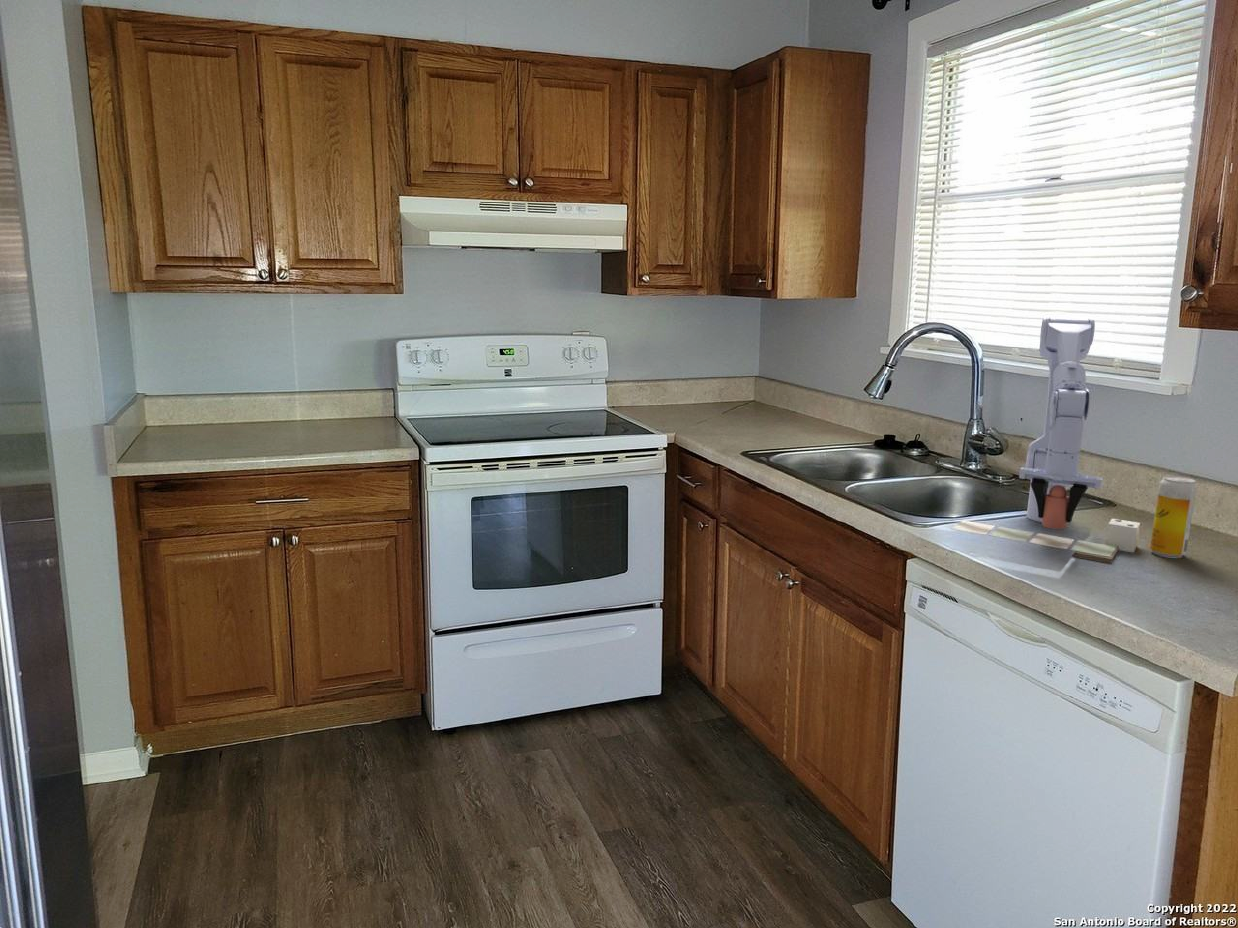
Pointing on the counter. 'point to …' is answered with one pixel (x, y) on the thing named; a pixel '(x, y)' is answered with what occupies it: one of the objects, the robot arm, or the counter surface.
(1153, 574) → the counter surface
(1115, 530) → the die
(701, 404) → the counter surface
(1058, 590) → the counter surface
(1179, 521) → the beer can
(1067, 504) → the pawn
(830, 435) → the counter surface
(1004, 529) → the board
